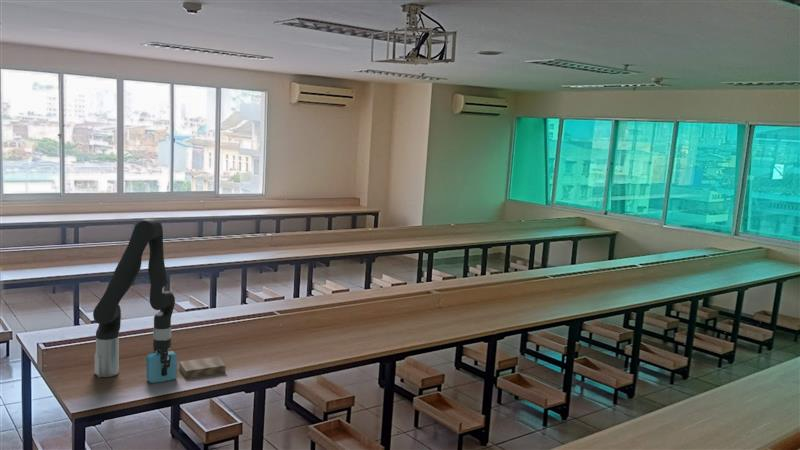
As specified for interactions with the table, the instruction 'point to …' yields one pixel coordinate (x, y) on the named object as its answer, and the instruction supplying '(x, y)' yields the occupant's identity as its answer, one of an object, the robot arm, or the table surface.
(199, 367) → the mottled brown block
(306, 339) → the table surface
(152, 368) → the data package
